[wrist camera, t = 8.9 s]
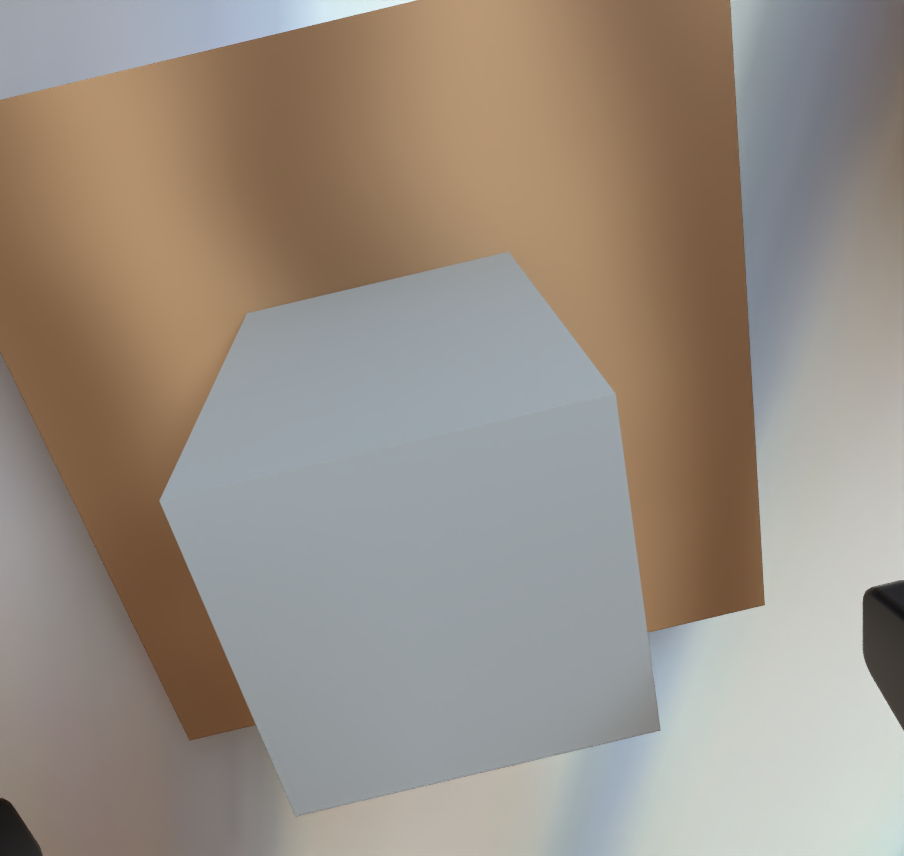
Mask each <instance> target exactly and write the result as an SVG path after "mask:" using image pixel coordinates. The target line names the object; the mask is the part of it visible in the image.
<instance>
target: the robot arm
mask: <svg viewBox="0 0 904 856" xmlns="http://www.w3.org/2000/svg"><path fill="white" fill-rule="evenodd" d="M863 654H864V659H865V662H866V665H867V667H868V670H869V672H870V674H871V676H872V677H873V679H874V681H875V683H876V684H877V686H878V688H879V689H880V691H881V693H882V694H883V696H884V698H885V700H886V701H887V703H888V705H889V706H890V708H891V710H892V711H893V713H894V715H895V717H896V718H897V720H898V722H899V723H900V725H901V727H902V728H903V730H904V580H900V581H895V582H891V583H887V584H883V585H879V586H875V587H871V588H870V589H868V590H867V591H866V592H865V594H864V597H863ZM0 856H43V855H42V852H41V848H40V846H39V844H38V843H37V841H36V840H35V838H34V837H33V835H32V834H31V832H30V831H29V829H28V828H27V826H26V825H25V823H24V822H23V820H22V819H21V817H20V816H19V814H18V813H17V811H16V810H15V808H14V807H13V805H12V804H11V803H10V802H9V801H7V800H5V799H3V798H0Z"/></svg>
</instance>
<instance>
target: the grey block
mask: <svg viewBox="0 0 904 856" xmlns="http://www.w3.org/2000/svg"><path fill="white" fill-rule="evenodd" d="M160 504H161V506H162V508H163V511H164V513H165V515H166V518H167V520H168V522H169V524H170V527H171V529H172V531H173V534H174V536H175V538H176V541H177V543H178V545H179V548H180V550H181V552H182V555H183V557H184V559H185V562H186V564H187V566H188V569H189V571H190V573H191V575H192V578H193V580H194V582H195V585H196V587H197V589H198V592H199V594H200V596H201V599H202V601H203V603H204V606H205V608H206V610H207V613H208V615H209V617H210V620H211V622H212V624H213V626H214V629H215V631H216V633H217V636H218V638H219V640H220V643H221V645H222V647H223V650H224V652H225V654H226V657H227V659H228V661H229V664H230V666H231V668H232V671H233V673H234V675H235V678H236V680H237V682H238V684H239V687H240V689H241V691H242V694H243V696H244V698H245V701H246V703H247V705H248V708H249V710H250V712H251V715H252V717H253V719H254V722H255V724H256V726H257V729H258V731H259V733H260V735H261V738H262V740H263V742H264V745H265V747H266V749H267V752H268V754H269V756H270V759H271V761H272V763H273V766H274V768H275V770H276V773H277V775H278V777H279V780H280V782H281V784H282V786H283V789H284V791H285V793H286V796H287V798H288V800H289V803H290V805H291V807H292V810H293V812H294V814H295V817H296V816H300V815H304V814H308V813H313V812H317V811H321V810H325V809H329V808H334V807H338V806H342V805H346V804H351V803H355V802H359V801H363V800H368V799H372V798H376V797H380V796H385V795H389V794H393V793H397V792H402V791H406V790H410V789H414V788H419V787H423V786H427V785H431V784H435V783H440V782H444V781H448V780H452V779H457V778H461V777H465V776H469V775H474V774H478V773H482V772H486V771H491V770H495V769H499V768H503V767H508V766H512V765H516V764H520V763H525V762H529V761H533V760H537V759H541V758H546V757H550V756H554V755H558V754H563V753H567V752H571V751H575V750H580V749H584V748H588V747H592V746H597V745H601V744H605V743H609V742H614V741H618V740H622V739H626V738H631V737H635V736H639V735H643V734H647V733H652V732H656V731H660V723H659V716H658V708H657V701H656V693H655V686H654V678H653V671H652V663H651V656H650V648H649V641H648V633H647V625H646V618H645V610H644V603H643V595H642V588H641V580H640V573H639V565H638V558H637V550H636V543H635V535H634V528H633V520H632V513H631V505H630V498H629V490H628V483H627V475H626V468H625V460H624V453H623V445H622V438H621V430H620V422H619V415H618V407H617V400H616V393H615V392H614V391H613V389H612V388H611V387H610V385H609V384H608V383H607V381H606V380H605V379H604V377H603V376H602V375H601V373H600V372H599V371H598V369H597V368H596V367H595V365H594V364H593V363H592V361H591V360H590V359H589V357H588V356H587V355H586V353H585V352H584V351H583V350H582V348H581V347H580V346H579V344H578V343H577V342H576V340H575V339H574V338H573V336H572V335H571V334H570V332H569V331H568V330H567V328H566V327H565V326H564V324H563V323H562V322H561V320H560V319H559V318H558V316H557V315H556V314H555V312H554V311H553V310H552V308H551V307H550V306H549V304H548V303H547V302H546V300H545V299H544V298H543V296H542V295H541V294H540V292H539V291H538V290H537V288H536V287H535V286H534V284H533V283H532V282H531V281H530V279H529V278H528V277H527V275H526V274H525V273H524V271H523V270H522V269H521V267H520V266H519V265H518V263H517V262H516V261H515V259H514V258H513V257H512V255H511V254H510V253H509V252H505V253H501V254H497V255H493V256H488V257H484V258H480V259H476V260H471V261H467V262H463V263H459V264H454V265H450V266H446V267H442V268H437V269H433V270H429V271H425V272H420V273H416V274H412V275H408V276H403V277H399V278H395V279H391V280H386V281H382V282H378V283H374V284H369V285H365V286H361V287H357V288H352V289H348V290H344V291H340V292H335V293H331V294H327V295H323V296H318V297H314V298H310V299H306V300H301V301H297V302H293V303H289V304H284V305H280V306H276V307H272V308H267V309H263V310H259V311H255V312H250V313H247V314H246V316H245V318H244V320H243V322H242V325H241V327H240V329H239V331H238V333H237V335H236V338H235V340H234V342H233V344H232V346H231V348H230V350H229V353H228V355H227V357H226V359H225V361H224V363H223V365H222V368H221V370H220V372H219V374H218V376H217V378H216V380H215V383H214V385H213V387H212V389H211V391H210V393H209V395H208V398H207V400H206V402H205V404H204V406H203V408H202V410H201V413H200V415H199V417H198V419H197V421H196V423H195V425H194V428H193V430H192V432H191V434H190V436H189V438H188V441H187V443H186V445H185V447H184V449H183V451H182V453H181V456H180V458H179V460H178V462H177V464H176V466H175V468H174V471H173V473H172V475H171V477H170V479H169V481H168V483H167V486H166V488H165V490H164V492H163V494H162V496H161V498H160Z"/></svg>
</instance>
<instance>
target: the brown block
mask: <svg viewBox="0 0 904 856" xmlns="http://www.w3.org/2000/svg"><path fill="white" fill-rule="evenodd" d="M505 252H509V253H510V254H511V255H512V257H513V258H514V259H515V261H516V262H517V263H518V265H519V266H520V267H521V269H522V270H523V271H524V273H525V274H526V275H527V277H528V278H529V279H530V281H531V282H532V283H533V284H534V286H535V287H536V288H537V290H538V291H539V292H540V294H541V295H542V296H543V298H544V299H545V300H546V302H547V303H548V304H549V306H550V307H551V308H552V310H553V311H554V312H555V314H556V315H557V316H558V318H559V319H560V320H561V322H562V323H563V324H564V326H565V327H566V328H567V330H568V331H569V332H570V334H571V335H572V336H573V338H574V339H575V340H576V342H577V343H578V344H579V346H580V347H581V348H582V350H583V351H584V352H585V353H586V355H587V356H588V357H589V359H590V360H591V361H592V363H593V364H594V365H595V367H596V368H597V369H598V371H599V372H600V373H601V375H602V376H603V377H604V379H605V380H606V381H607V383H608V384H609V385H610V387H611V388H612V389H613V391H614V392H615V393H616V400H617V407H618V415H619V422H620V430H621V438H622V445H623V453H624V460H625V468H626V475H627V483H628V490H629V498H630V505H631V513H632V520H633V528H634V535H635V543H636V550H637V558H638V565H639V573H640V580H641V588H642V595H643V603H644V610H645V618H646V625H647V633H648V632H652V631H656V630H661V629H665V628H669V627H673V626H678V625H682V624H686V623H690V622H695V621H699V620H703V619H707V618H712V617H716V616H720V615H724V614H729V613H733V612H737V611H741V610H746V609H750V608H754V607H758V606H763V605H765V602H764V585H763V567H762V550H761V533H760V515H759V498H758V480H757V463H756V445H755V428H754V410H753V393H752V375H751V358H750V341H749V323H748V306H747V288H746V271H745V253H744V236H743V218H742V201H741V183H740V166H739V149H738V131H737V114H736V96H735V79H734V61H733V44H732V26H731V9H730V0H417V1H413V2H409V3H405V4H400V5H396V6H392V7H388V8H384V9H379V10H375V11H371V12H367V13H363V14H359V15H354V16H350V17H346V18H342V19H338V20H333V21H329V22H325V23H321V24H317V25H312V26H308V27H304V28H300V29H296V30H292V31H287V32H283V33H279V34H275V35H271V36H266V37H262V38H258V39H254V40H250V41H245V42H241V43H237V44H233V45H229V46H225V47H220V48H216V49H212V50H208V51H204V52H199V53H195V54H191V55H187V56H183V57H178V58H174V59H170V60H166V61H162V62H157V63H153V64H149V65H145V66H141V67H137V68H132V69H128V70H124V71H120V72H116V73H111V74H107V75H103V76H99V77H95V78H90V79H86V80H82V81H78V82H74V83H70V84H65V85H61V86H57V87H53V88H49V89H44V90H40V91H36V92H32V93H28V94H23V95H19V96H15V97H11V98H7V99H3V100H0V352H1V354H2V356H3V358H4V360H5V362H6V364H7V366H8V368H9V370H10V373H11V375H12V377H13V379H14V381H15V383H16V385H17V387H18V389H19V391H20V393H21V395H22V397H23V399H24V401H25V403H26V405H27V407H28V409H29V412H30V414H31V416H32V418H33V420H34V422H35V424H36V426H37V428H38V430H39V432H40V434H41V436H42V438H43V440H44V442H45V444H46V446H47V449H48V451H49V453H50V455H51V457H52V459H53V461H54V463H55V465H56V467H57V469H58V471H59V473H60V475H61V477H62V479H63V481H64V483H65V485H66V488H67V490H68V492H69V494H70V496H71V498H72V500H73V502H74V504H75V506H76V508H77V510H78V512H79V514H80V516H81V518H82V520H83V522H84V525H85V527H86V529H87V531H88V533H89V535H90V537H91V539H92V541H93V543H94V545H95V547H96V549H97V551H98V553H99V555H100V557H101V559H102V561H103V564H104V566H105V568H106V570H107V572H108V574H109V576H110V578H111V580H112V582H113V584H114V586H115V588H116V590H117V592H118V594H119V596H120V598H121V601H122V603H123V605H124V607H125V609H126V611H127V613H128V615H129V617H130V619H131V621H132V623H133V625H134V627H135V629H136V631H137V633H138V635H139V637H140V640H141V642H142V644H143V646H144V648H145V650H146V652H147V654H148V656H149V658H150V660H151V662H152V664H153V666H154V668H155V670H156V672H157V674H158V677H159V679H160V681H161V683H162V685H163V687H164V689H165V691H166V693H167V695H168V697H169V699H170V701H171V703H172V705H173V707H174V709H175V711H176V713H177V716H178V718H179V720H180V722H181V724H182V726H183V728H184V730H185V732H186V734H187V736H188V738H189V740H194V739H198V738H202V737H206V736H211V735H215V734H219V733H223V732H228V731H232V730H236V729H240V728H245V727H249V726H253V725H256V724H255V722H254V719H253V717H252V715H251V712H250V710H249V708H248V705H247V703H246V701H245V698H244V696H243V694H242V691H241V689H240V687H239V684H238V682H237V680H236V678H235V675H234V673H233V671H232V668H231V666H230V664H229V661H228V659H227V657H226V654H225V652H224V650H223V647H222V645H221V643H220V640H219V638H218V636H217V633H216V631H215V629H214V626H213V624H212V622H211V620H210V617H209V615H208V613H207V610H206V608H205V606H204V603H203V601H202V599H201V596H200V594H199V592H198V589H197V587H196V585H195V582H194V580H193V578H192V575H191V573H190V571H189V569H188V566H187V564H186V562H185V559H184V557H183V555H182V552H181V550H180V548H179V545H178V543H177V541H176V538H175V536H174V534H173V531H172V529H171V527H170V524H169V522H168V520H167V518H166V515H165V513H164V511H163V508H162V506H161V504H160V498H161V496H162V494H163V492H164V490H165V488H166V486H167V483H168V481H169V479H170V477H171V475H172V473H173V471H174V468H175V466H176V464H177V462H178V460H179V458H180V456H181V453H182V451H183V449H184V447H185V445H186V443H187V441H188V438H189V436H190V434H191V432H192V430H193V428H194V425H195V423H196V421H197V419H198V417H199V415H200V413H201V410H202V408H203V406H204V404H205V402H206V400H207V398H208V395H209V393H210V391H211V389H212V387H213V385H214V383H215V380H216V378H217V376H218V374H219V372H220V370H221V368H222V365H223V363H224V361H225V359H226V357H227V355H228V353H229V350H230V348H231V346H232V344H233V342H234V340H235V338H236V335H237V333H238V331H239V329H240V327H241V325H242V322H243V320H244V318H245V316H246V314H247V313H250V312H255V311H259V310H263V309H267V308H272V307H276V306H280V305H284V304H289V303H293V302H297V301H301V300H306V299H310V298H314V297H318V296H323V295H327V294H331V293H335V292H340V291H344V290H348V289H352V288H357V287H361V286H365V285H369V284H374V283H378V282H382V281H386V280H391V279H395V278H399V277H403V276H408V275H412V274H416V273H420V272H425V271H429V270H433V269H437V268H442V267H446V266H450V265H454V264H459V263H463V262H467V261H471V260H476V259H480V258H484V257H488V256H493V255H497V254H501V253H505Z"/></svg>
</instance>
